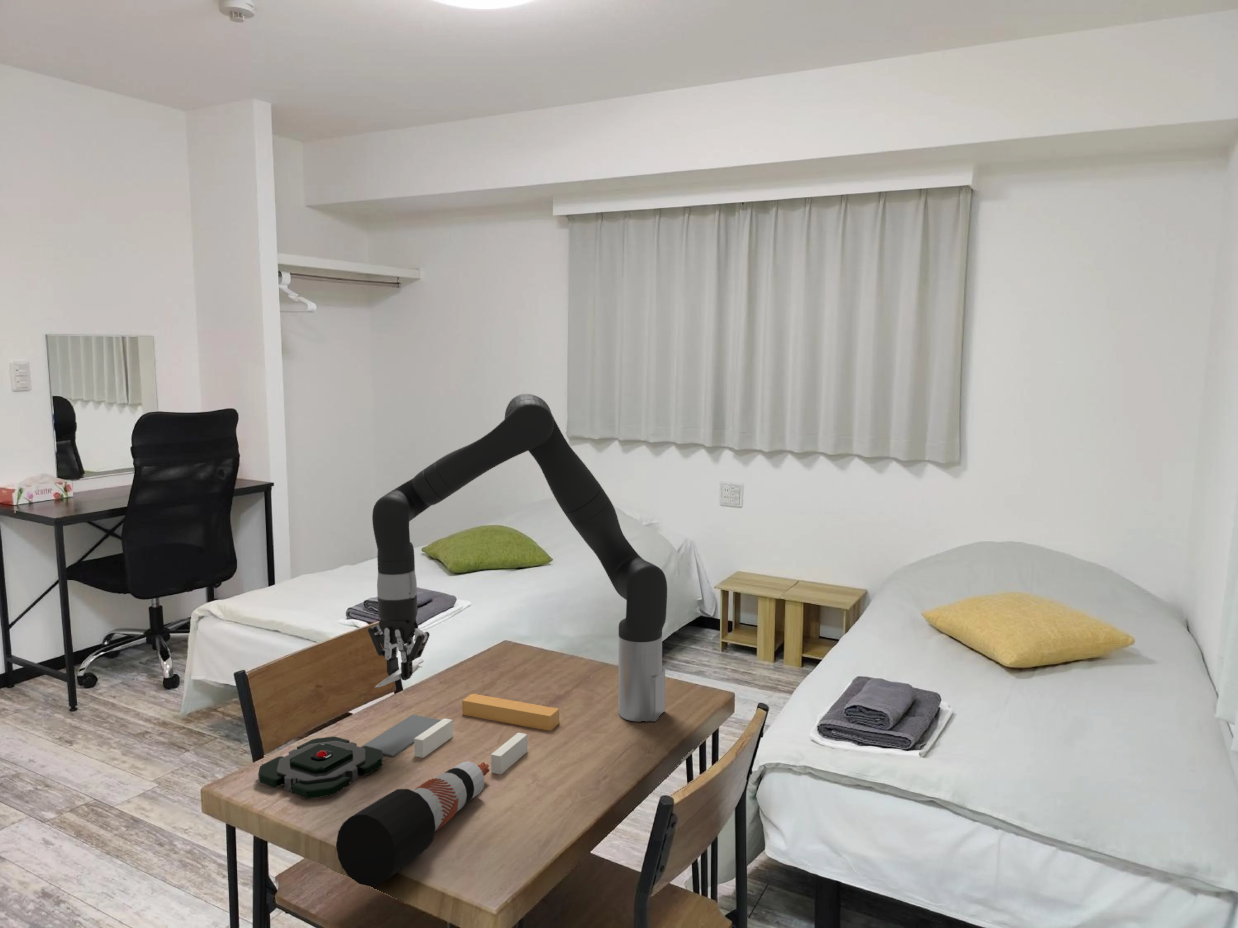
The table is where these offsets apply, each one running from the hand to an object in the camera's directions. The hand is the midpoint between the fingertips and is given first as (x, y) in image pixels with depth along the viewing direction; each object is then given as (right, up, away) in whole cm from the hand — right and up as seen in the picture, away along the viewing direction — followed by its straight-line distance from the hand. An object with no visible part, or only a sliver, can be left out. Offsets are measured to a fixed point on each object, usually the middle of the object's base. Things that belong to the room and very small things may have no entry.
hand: (400, 677), depth 170 cm
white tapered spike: (0, 0, 0) cm, 0 cm away
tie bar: (+21, -12, +10) cm, 26 cm away
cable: (+13, -17, -32) cm, 39 cm away
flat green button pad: (-11, -15, -13) cm, 23 cm away
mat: (0, -12, +2) cm, 12 cm away
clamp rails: (+15, -13, -6) cm, 21 cm away
